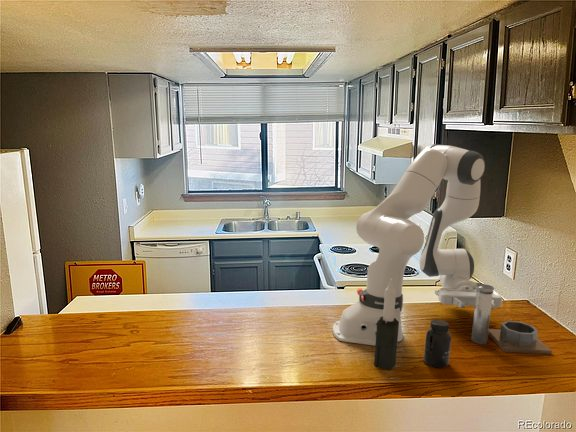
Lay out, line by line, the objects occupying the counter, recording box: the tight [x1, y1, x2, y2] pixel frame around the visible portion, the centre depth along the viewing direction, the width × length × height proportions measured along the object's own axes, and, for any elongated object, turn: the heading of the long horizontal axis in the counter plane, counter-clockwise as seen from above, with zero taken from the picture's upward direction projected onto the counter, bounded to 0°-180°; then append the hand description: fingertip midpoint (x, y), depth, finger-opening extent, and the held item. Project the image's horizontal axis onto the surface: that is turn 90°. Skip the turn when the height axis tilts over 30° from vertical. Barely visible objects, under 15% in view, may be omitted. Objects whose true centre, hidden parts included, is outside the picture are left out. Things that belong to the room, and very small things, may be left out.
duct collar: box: [488, 320, 553, 355], centre depth 143 cm, size 14×14×5 cm
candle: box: [373, 279, 399, 371], centre depth 124 cm, size 5×5×25 cm
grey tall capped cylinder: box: [470, 283, 495, 345], centre depth 142 cm, size 5×5×18 cm
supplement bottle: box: [423, 319, 452, 369], centre depth 128 cm, size 7×7×12 cm
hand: (477, 306), depth 146 cm, fingers open, 8 cm apart
